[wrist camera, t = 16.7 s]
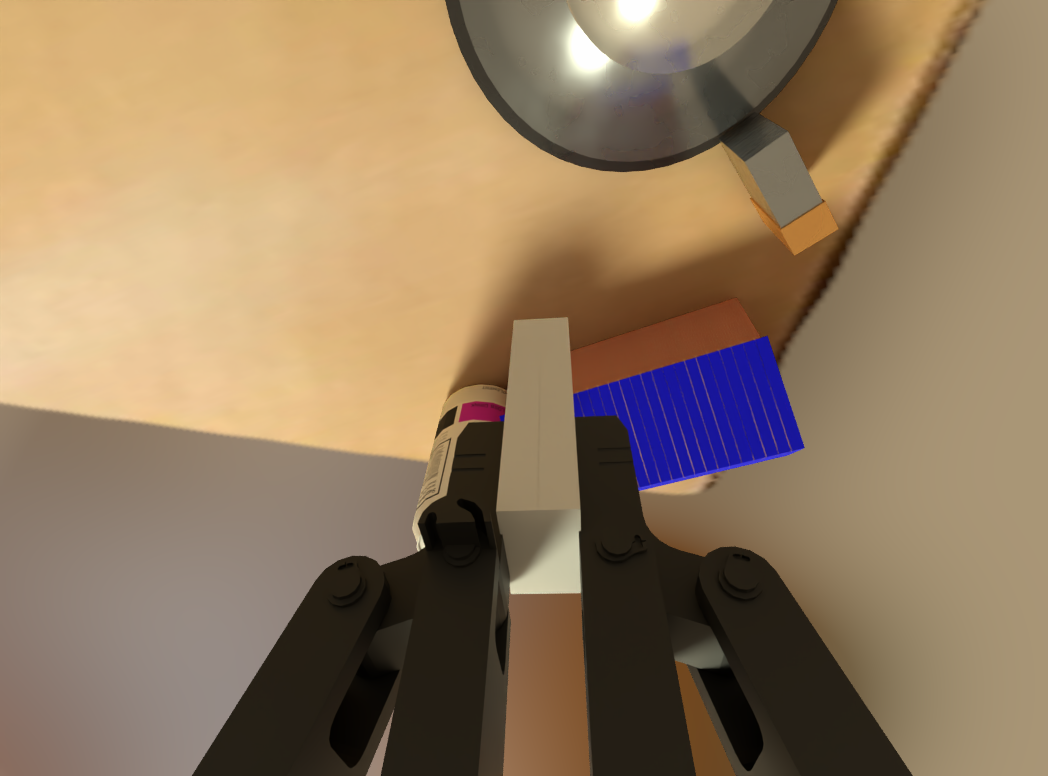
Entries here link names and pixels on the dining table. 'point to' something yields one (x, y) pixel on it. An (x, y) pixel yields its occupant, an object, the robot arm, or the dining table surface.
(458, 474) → the robot arm
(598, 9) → the cover
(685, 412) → the house
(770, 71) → the turntable
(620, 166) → the turntable base
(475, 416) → the supplement can
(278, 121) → the dining table surface
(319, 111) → the dining table surface
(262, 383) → the dining table surface
